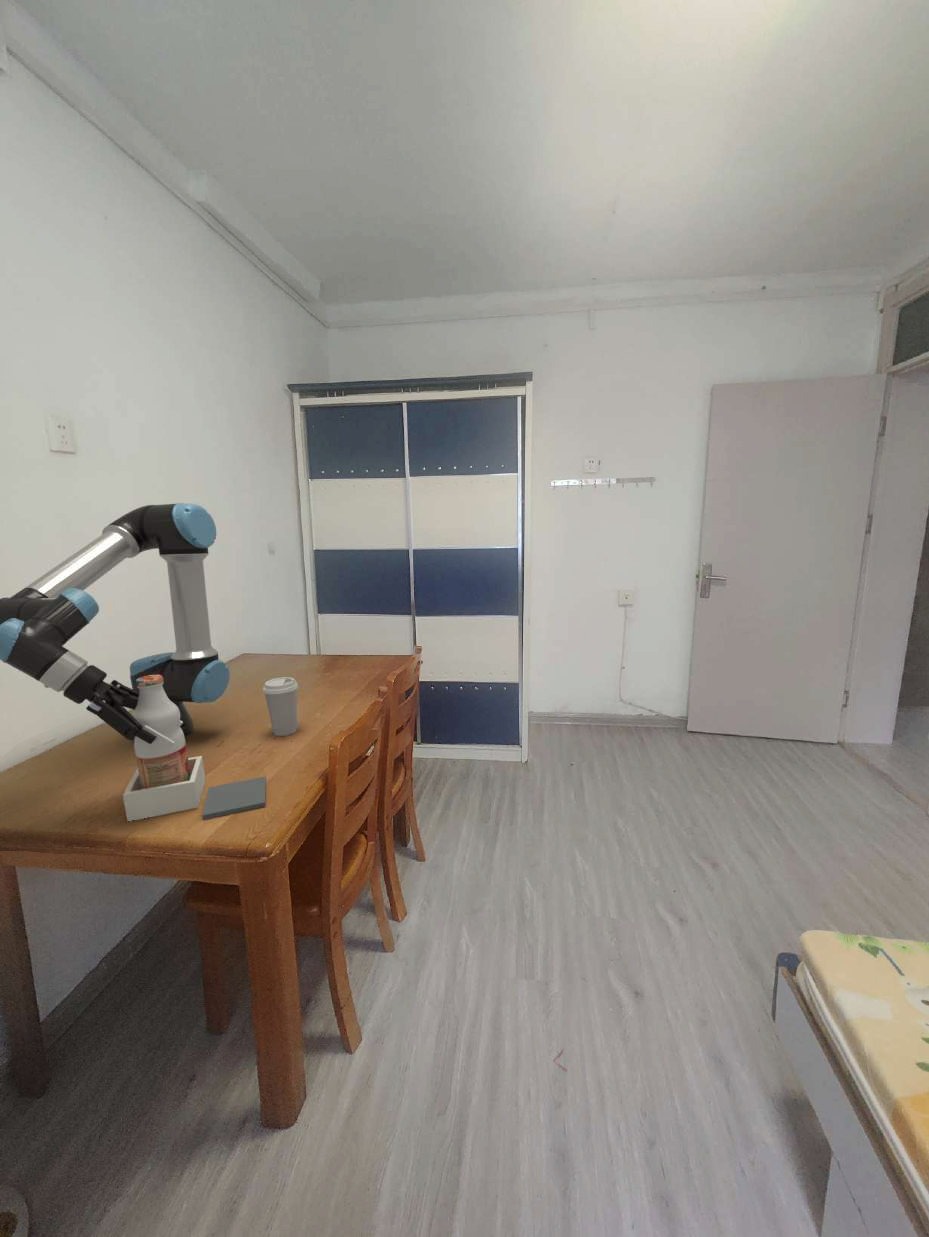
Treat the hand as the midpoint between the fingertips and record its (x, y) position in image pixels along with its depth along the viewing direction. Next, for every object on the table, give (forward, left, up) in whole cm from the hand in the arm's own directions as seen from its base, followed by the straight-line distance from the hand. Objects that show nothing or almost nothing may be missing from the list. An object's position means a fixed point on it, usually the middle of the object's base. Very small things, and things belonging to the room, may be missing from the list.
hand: (174, 737), depth 111 cm
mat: (+6, +11, -14) cm, 19 cm away
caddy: (0, -3, -14) cm, 14 cm away
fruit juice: (0, -3, -14) cm, 15 cm away
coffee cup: (-28, +22, -14) cm, 38 cm away
